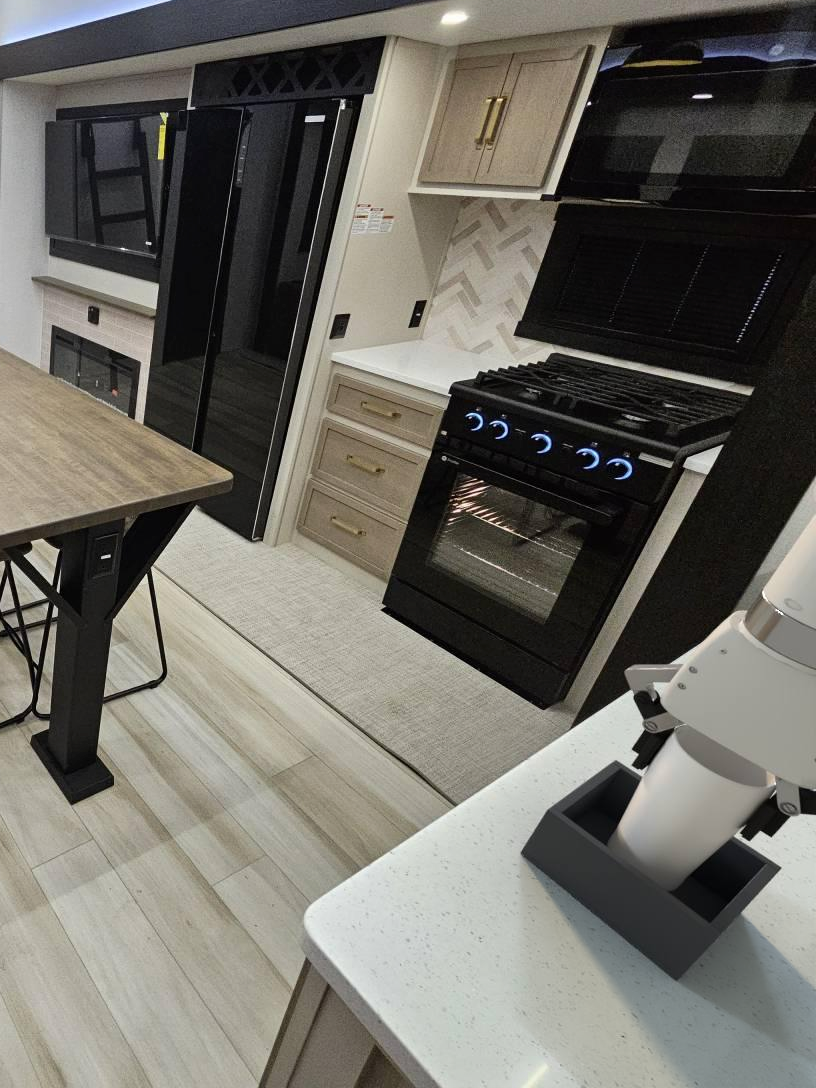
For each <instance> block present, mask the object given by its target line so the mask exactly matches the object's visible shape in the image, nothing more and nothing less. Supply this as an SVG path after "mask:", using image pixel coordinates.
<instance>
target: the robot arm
mask: <svg viewBox="0 0 816 1088" xmlns="http://www.w3.org/2000/svg"><path fill="white" fill-rule="evenodd" d="M812 496H813V501H814V505H815V506H816V483H814V487H813V492H812ZM623 673H624V677H625V679H626V681H627V684H628V686H629V688H630V690H631V691H632V694H633V696H632V699H633V701H634V703H635V705H636V708H637V710H638V711H639V714H640V716H641V718H642V719H643V720H642V722H641V726H642V727H643V729H644V730H643V731H642V732H641V734H640V735H639V737H638V739H637V740H636V742H635V743H634V745H633V746H632V747H631V751H632V752H634V753H636V754H637V756H636V757H635V759H633V760H634V761H632V763H631V767H633V768H634V769H636V770H637V771H638V770H640V771H643V770H644V769H647V767H648V765H649V764H650V762H651V760H652V759H653V757H654V755H655V754H656V752H657V751H658V750H659V748H660V747H661V745H662V744H663V743H664V742H665V740H666V739H667V738H668V737H669V735H670V734H671V733H672V732H673V731H674V729H675V728H677V727H679V726H682V725H688V726H690V727H691V728H693V729H695V730H697V731H698V732H700V733H702V734H703V735H705V736H707V737H709V738H710V739H712V740H714V741H715V742H717V743H719V744H721V745H722V746H724V747H726V748H728V749H729V750H731V751H733V752H735V753H736V754H738V755H740V756H742V757H743V758H745V759H747V760H749V761H750V762H752V763H754V764H756V765H757V766H759V767H761V768H763V769H764V770H766V771H768V772H770V773H772V774H773V775H775V783H776V790H775V792H774V793H773V795H772V796H771V797H770V799H769V800H768V801H767V802H766V803H765V804H764V805H763V806H762V807H761V808H760V809H759V811H758V812H757V813H756V814H755V815H754V816H753V818H752V819H751V820H750V821H749V822H748V823H747V825H746V826H745V827H743V828H742V829H741V830H740V831H739V834H740V835H741V838H743V839H745V840H746V841H747V842H751V841H752V840H753V839H754V838H755V837H756V836H757V835H758V834H759V833H760V832H762V833H763V834H765V835H766V836H768V837H769V838H773V837H774V836H775V835H776V834H777V833H778V831H779V830H781V828H782V827H783V826H784V825H785V824H786V823H787V821H788V820H789V819H790V818H791V817H799V816H800V815H807V816H808V815H809V816H816V513H815V514H814V515H813V516H812V517H811V519H810V521H809V523H808V524H807V525H806V527H805V528H804V529H803V531H802V532H801V533H800V535H799V537H798V539H796V541H795V543H794V544H793V545H792V547H791V548H790V550H789V551H788V553H787V554H786V556H785V557H784V559H783V560H782V561H781V563H780V564H779V565H778V566H777V568H776V570H775V571H774V572H773V574H772V576H771V577H770V578H769V580H768V581H767V583H766V584H765V586H764V587H763V588H762V590H761V591H760V592H759V594H758V596H756V599H755V600H754V601H753V603H752V604H751V605H750V607H749V608H748V609H747V610H737V611H734V612H733V613H732V614H730V615H729V616H728V617H727V618H726V619H724V620H723V621H722V622H721V623H720V624H719V625H718V626H717V627H716V628H715V629H714V630H713V631H712V632H711V633H710V634H709V635H708V636H707V637H706V638H704V640H703V641H702V642H701V644H699V645H698V647H697V648H696V649H695V650H694V651H693V653H692V654H691V655H690V656H689V657H688V659H687V660H686V661H685V662H684V663H670V664H668V663H665V664H661V663H660V664H650V663H649V664H632V665H630V666H629V667H628V668H626V669H625V670H624V672H623ZM654 683H668V684H667V686H666V687H665V688H664V690H663V692H662V694H661V695H660V693H659V692H658V690H656V689H655V685H654Z"/></svg>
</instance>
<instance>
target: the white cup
mask: <svg viewBox="0 0 816 1088" xmlns="http://www.w3.org/2000/svg"><path fill="white" fill-rule="evenodd" d="M775 793H776V783H775V775H773V774H772V773H770V772H768V771H766V770H764V769H763V768H761V767H759V766H757V765H756V764H754V763H752V762H750V761H749V760H747V759H745V758H743V757H742V756H740V755H738V754H736V753H735V752H733V751H731V750H729V749H728V748H726V747H724V746H722V745H721V744H719V743H717V742H715V741H714V740H712V739H710V738H709V737H707V736H705V735H703V734H702V733H700V732H698V731H697V730H695V729H693V728H691V727H690V726H688V725H686V724H683V725H680V726H677V727H675V729H674V731H673V732H672V733H671V734H670V735H669V737H668V738H667V739H666V740H665V742H664V743H663V744H662V745H661V747H660V748H659V750H658V751H657V752H656V754H655V755H654V757H653V759H652V760H651V762H650V764H649V765H648V766H647V767H646V768H645V771H644V773H643V775H642V779H641V781H640V783H639V785H638V787H637V789H636V791H635V793H634V795H633V797H632V799H631V801H630V803H629V805H628V807H627V809H626V811H625V813H624V815H623V817H622V819H621V821H620V822H619V824H618V826H617V828H616V830H615V831H614V833H613V834H612V835H611V837H610V838H609V840H608V842H607V847H608V848H609V849H610V850H612V851H613V852H614V853H616V854H617V855H619V856H620V857H621V858H623V859H624V860H625V861H627V862H628V863H629V864H631V865H632V866H633V867H635V868H636V869H637V870H639V871H640V872H641V873H643V874H644V875H646V876H647V877H648V878H650V879H651V880H652V881H654V882H655V883H656V884H658V885H659V886H660V887H662V888H663V889H664V890H666V891H667V892H669V891H673V890H675V889H677V888H678V887H679V886H680V885H681V884H682V883H683V882H684V880H685V879H686V878H687V877H688V876H689V875H690V874H691V873H692V872H693V871H694V870H696V869H697V868H698V867H699V866H700V865H701V864H702V863H703V862H705V861H706V860H707V859H708V858H709V857H710V856H711V855H712V854H714V853H715V852H716V851H717V850H718V849H719V848H720V847H722V846H723V845H724V844H725V843H726V842H727V841H729V840H730V839H731V838H732V837H733V836H734V837H735V836H736V835H737V834H738V833H740V832H741V831H742V829H743V828H744V827H745V826H746V825H747V823H748V822H749V821H750V820H751V819H752V818H753V816H754V815H755V814H756V813H757V812H758V811H759V809H760V808H761V807H762V806H763V805H764V804H765V803H766V802H767V801H768V800H769V799H770V798H771V797H772V796H773V795H774V794H775Z"/></svg>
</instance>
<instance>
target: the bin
mask: <svg viewBox="0 0 816 1088" xmlns="http://www.w3.org/2000/svg"><path fill="white" fill-rule="evenodd" d="M642 777H643V775H640V774H639V773H637V772H636V771H634V770H632V769H631V768H630V767H628V766H627V765H625V764H624V763H622V762H620V761H618V760H617V759H615V760H613V761H612V762H610V763H609V764H607V765H606V766H605V767H603V768H601V770H599V771H597V773H595V774H594V775H593V776H591V777H590V778H589V779H587V780H586V781H584V782H583V783H581V784H580V785H579V786H578V787H575V789H573V790H572V791H570V793H568V794H567V795H565V796H564V797H562V798H561V799H560V800H558V801H557V802H556V803H554V804H553V805H552V806H550V807H549V808H548V809H546V810H545V813H544V814H543V816H542V817H541V819H540V821H539V822H538V823H537V825H536V826H535V828H534V830H533V831H532V833H531V835H530V836H529V838H528V840H527V841H526V842H525V844H524V845H523V848H522V849H521V851H520V855H522V856H523V857H524V858H525V859H526V860H528V861H529V862H530V863H531V864H532V865H534V866H535V867H536V868H538V870H540V871H541V872H542V873H543V874H545V875H546V876H547V877H549V879H551V880H552V881H553V882H554V883H556V884H557V885H558V886H560V887H561V888H562V889H563V890H564V891H565V892H566V893H568V894H569V895H570V896H571V897H573V898H574V899H576V900H577V902H579V903H581V905H583V906H584V907H585V908H586V909H587V910H588V911H590V912H591V913H592V914H594V915H595V916H596V917H597V918H598V919H600V920H601V921H602V922H603V923H604V924H606V925H607V926H608V927H609V928H611V929H612V930H613V931H614V932H615V933H617V934H618V935H619V936H621V937H622V938H623V939H624V940H626V941H627V942H628V943H629V944H630V945H631V946H633V947H634V948H635V949H636V950H637V951H639V952H640V953H641V954H642V955H644V957H646V958H647V959H649V960H650V961H651V962H652V963H653V964H655V965H656V966H657V967H658V968H660V969H661V970H662V971H663V972H664V973H666V974H667V975H668V976H669V977H670V978H672V979H673V980H674V981H675V982H678V981H679V980H680V979H681V978H682V977H683V975H685V974H686V973H687V971H688V970H690V968H691V967H692V966H693V965H694V964H695V963H696V962H697V961H698V960H699V959H700V957H701V956H703V954H704V953H705V952H706V951H707V950H708V949H709V948H710V947H711V946H712V945H713V944H714V943H715V941H717V940H718V939H719V938H720V936H721V935H722V934H723V933H725V931H726V930H727V929H728V928H729V927H730V926H731V925H732V923H733V922H734V921H735V920H736V919H737V918H738V917H739V915H741V913H743V912H744V910H745V909H746V908H747V907H748V906H749V905H750V904H751V903H752V902H753V900H755V898H756V897H757V896H758V895H759V894H760V893H761V892H762V891H763V890H764V889H765V887H766V886H767V885H768V884H769V883H770V882H771V881H772V880H773V879H774V877H776V875H778V873H779V872H780V871H781V870H782V866H780V865H779V864H778V863H775V862H774V861H773V860H772V859H770V858H768V857H766V855H763V854H762V853H760V852H759V851H757V850H756V849H754V848H753V847H751V846H750V845H748V844H746V843H745V842H744V841H742V840H741V839H739V838H737V837H736V836H735V835H734V836H733V837H732V838H731V839H730V840H729V841H727V842H726V843H725V844H724V845H723V846H722V847H720V848H719V849H718V850H717V851H716V852H715V853H714V854H712V855H711V856H710V857H709V858H708V859H707V860H706V861H705V862H703V863H702V864H701V865H700V866H699V867H698V868H697V869H696V870H694V871H693V872H692V873H691V874H690V875H689V876H688V877H687V878H686V879H685V880H684V882H683V883H682V884H681V885H680V886H679V887H678V888H677V889H675V890H673V891H669V892H667V891H666V890H664V889H663V888H662V887H660V886H659V885H658V884H656V883H655V882H654V881H652V880H651V879H650V878H648V877H647V876H646V875H644V874H643V873H641V872H640V871H639V870H637V869H636V868H635V867H633V866H632V865H631V864H629V863H628V862H627V861H625V860H624V859H623V858H621V857H620V856H619V855H617V854H616V853H614V852H613V851H612V850H610V849H609V848H608V847H607V842H608V840H609V838H610V837H611V835H612V834H613V833H614V831H615V830H616V828H617V826H618V824H619V822H620V821H621V819H622V817H623V815H624V813H625V811H626V809H627V807H628V805H629V803H630V801H631V799H632V797H633V795H634V793H635V791H636V789H637V787H638V785H639V783H640V781H641V779H642Z"/></svg>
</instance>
